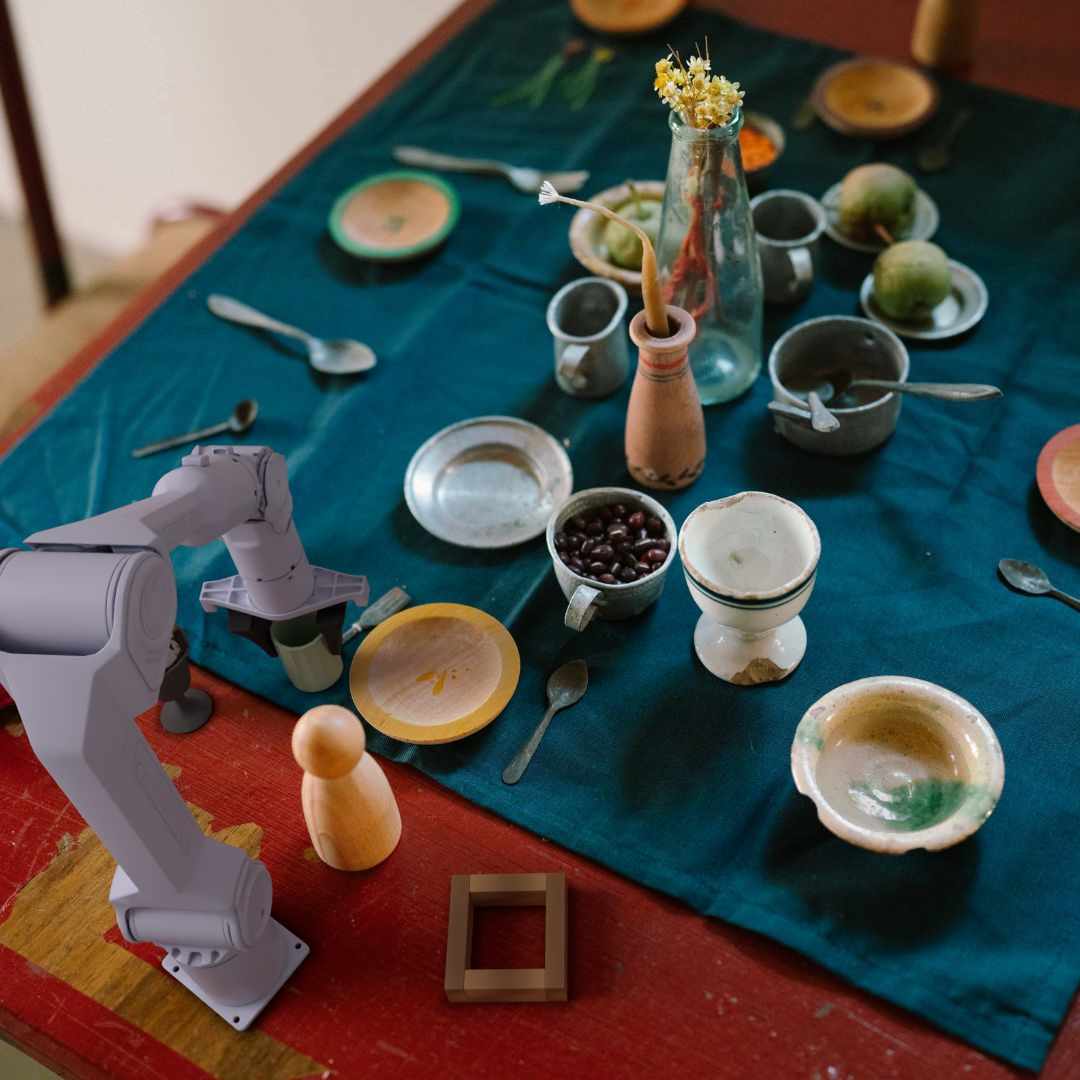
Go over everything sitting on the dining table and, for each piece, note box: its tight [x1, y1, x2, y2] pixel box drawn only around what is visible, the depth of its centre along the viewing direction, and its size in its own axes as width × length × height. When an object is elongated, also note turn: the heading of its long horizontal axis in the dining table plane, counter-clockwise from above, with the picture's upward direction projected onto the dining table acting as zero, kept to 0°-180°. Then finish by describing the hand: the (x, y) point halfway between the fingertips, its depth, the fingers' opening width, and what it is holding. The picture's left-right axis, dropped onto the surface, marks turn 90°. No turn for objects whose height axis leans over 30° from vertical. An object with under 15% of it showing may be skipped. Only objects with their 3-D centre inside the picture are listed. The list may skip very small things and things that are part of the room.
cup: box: [270, 610, 344, 693], centre depth 109 cm, size 5×5×7 cm
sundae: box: [158, 623, 213, 735], centre depth 105 cm, size 7×7×15 cm
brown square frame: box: [443, 872, 568, 1003], centre depth 92 cm, size 9×9×3 cm
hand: (307, 647), depth 108 cm, fingers closed on cup, 5 cm apart
